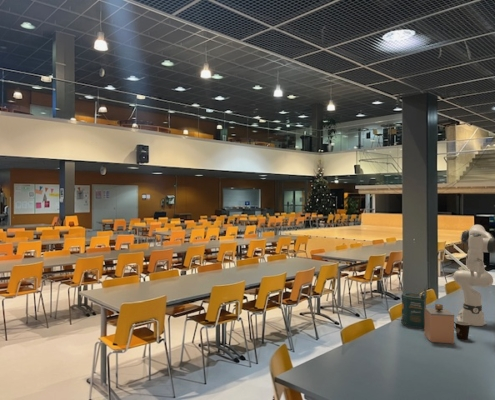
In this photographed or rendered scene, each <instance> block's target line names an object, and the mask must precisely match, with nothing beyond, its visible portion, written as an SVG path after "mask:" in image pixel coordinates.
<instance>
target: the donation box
mask: <svg viewBox="0 0 495 400" xmlns="http://www.w3.org/2000/svg"><path fill="white" fill-rule="evenodd" d="M427 290H428V289H427V284H426V285H425V287H424V290H423V292H422V293H417V292H416V293H415V292H402V294H401V296H400V297H401V320H400V323H401V324H403V325H405V326H408V327H415V328H421V329H425V308H427V297H428V296H427V295H428V293H427V292H428V291H427Z"/></svg>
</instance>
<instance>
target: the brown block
mask: <svg viewBox="0 0 495 400" xmlns="http://www.w3.org/2000/svg"><path fill="white" fill-rule="evenodd" d="M454 322H455V314H454V313H452V312H451V311H450V310H449V309H448V308H443V310H440V312H438V310H436V309H435V307H434V308H432V307H431V308H430V307H426V308H425V328H423V329H424V332H423V334H424V336H425V337H426V338H427V340H428V341H429V342H431V343H432V342H434V343H442V344H445V343H446V344H454V343H455V328H454V327H455V323H454Z"/></svg>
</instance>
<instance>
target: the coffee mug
mask: <svg viewBox="0 0 495 400" xmlns="http://www.w3.org/2000/svg"><path fill="white" fill-rule="evenodd" d="M470 326H471V325H470V324H469V323H467V322H462V321H458V320H457V321H454V331H455V333H456V339H458V340H462V341H468V340H469V335H470Z"/></svg>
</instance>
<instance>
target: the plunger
mask: <svg viewBox="0 0 495 400" xmlns="http://www.w3.org/2000/svg"><path fill="white" fill-rule="evenodd" d="M443 306H444V305H443V304H439V303H435V306H434V308H435V309H436V310H438V312H440V310H443V309H444V307H443Z"/></svg>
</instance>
